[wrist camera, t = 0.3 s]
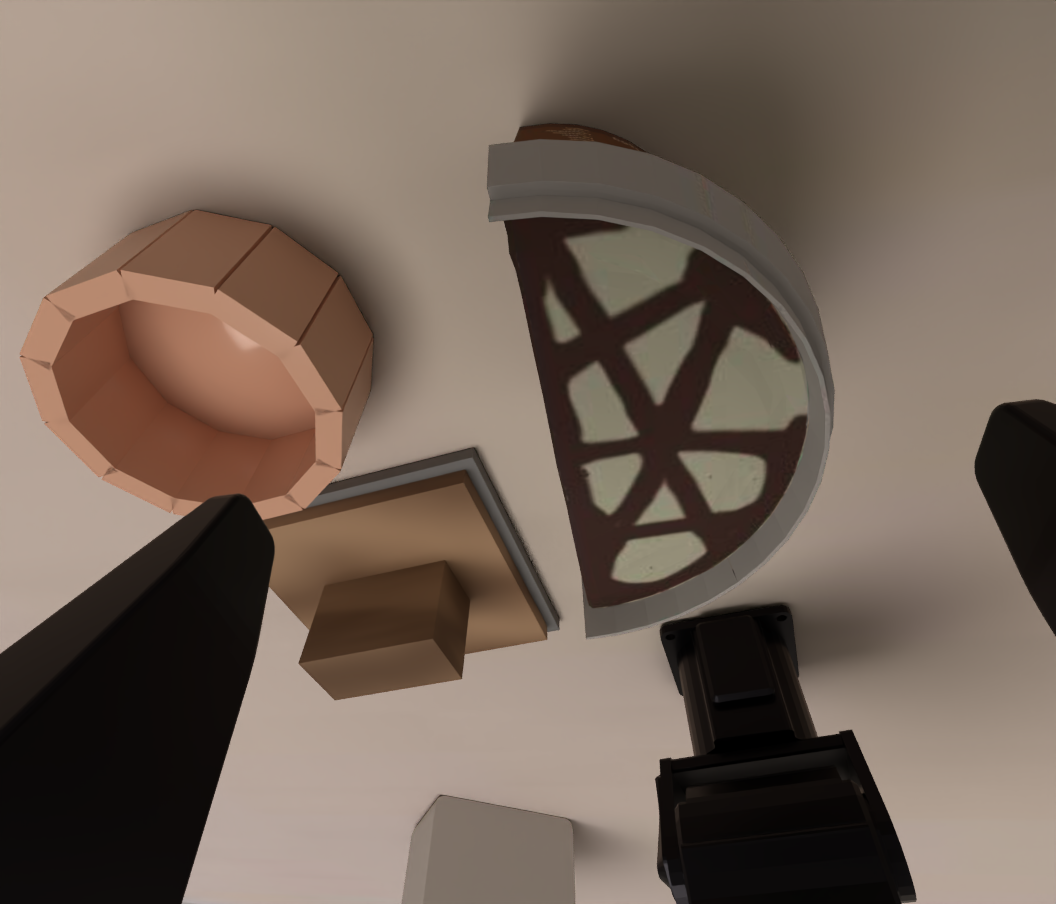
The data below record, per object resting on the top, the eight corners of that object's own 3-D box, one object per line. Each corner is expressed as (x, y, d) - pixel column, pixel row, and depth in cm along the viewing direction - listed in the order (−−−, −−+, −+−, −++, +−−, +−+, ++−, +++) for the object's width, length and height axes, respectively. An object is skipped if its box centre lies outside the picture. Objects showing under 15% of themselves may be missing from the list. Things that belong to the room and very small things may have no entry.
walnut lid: (546, 625, 32) (547, 716, 28) (353, 661, 34) (330, 749, 31) (465, 469, 25) (452, 561, 22) (232, 526, 28) (185, 617, 24)
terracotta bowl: (413, 408, 24) (391, 488, 21) (215, 462, 26) (165, 543, 23) (285, 174, 19) (227, 229, 15) (48, 263, 21) (-51, 330, 17)
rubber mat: (559, 619, 33) (559, 629, 32) (352, 657, 35) (349, 667, 35) (473, 447, 25) (472, 457, 25) (221, 511, 28) (216, 520, 28)
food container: (736, 403, 24) (828, 629, 16) (574, 426, 25) (589, 651, 17) (742, 15, 16) (922, 93, 9) (508, 67, 17) (479, 181, 9)
